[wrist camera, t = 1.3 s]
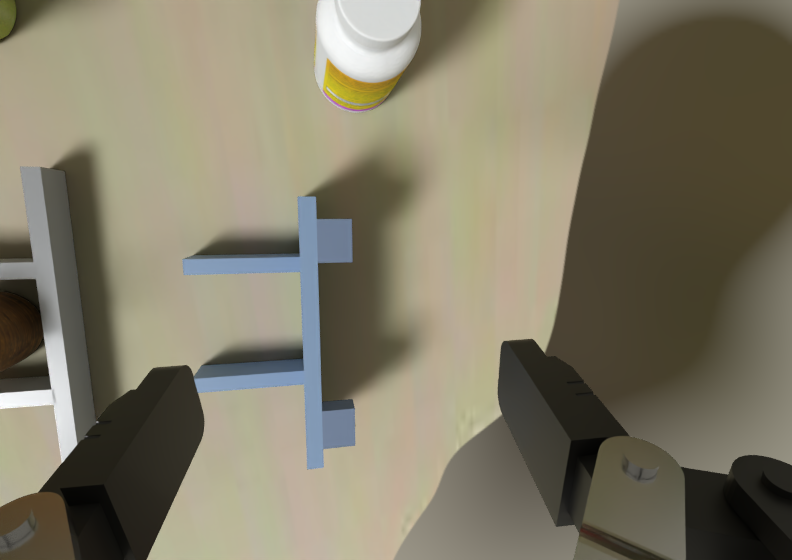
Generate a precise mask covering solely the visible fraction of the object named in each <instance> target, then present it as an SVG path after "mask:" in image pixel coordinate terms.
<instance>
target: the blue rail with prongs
mask: <svg viewBox="0 0 792 560" xmlns="http://www.w3.org/2000/svg"><path fill="white" fill-rule="evenodd" d="M298 220H299V248H300V253H296V254H239V255H193V256H190V257H187V258H185V259H182V260H183V272H184V275H201V274H239V273H277V272H300V277H301V305H302V333H303V359H290V360H275V361H260V362H246V363H231V364H216V365H202V366H201V367H200V369H199V370H198V372H197V373H196V374H195V376H194V381H195V384H196V388H197V392H198V393H202V392H215V391H227V390H240V389H252V388H264V387H277V386H289V385H302V384H304V389H305V417H306V445H307V469H314V468H323V467H324V463H323V449H328V448H337V447H346V446H355V408H354V404H353V399H348V400H337V401H326V402H322V392H321V357H320V322H319V287H318V263H340V262H352V219H317V217H316V197H298Z"/></svg>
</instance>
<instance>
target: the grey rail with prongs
mask: <svg viewBox="0 0 792 560" xmlns="http://www.w3.org/2000/svg"><path fill="white" fill-rule="evenodd" d="M20 170H21V177H22V185H23V192H24V199H25V206H26V213H27V220H28V227H29V234H30V241H31V248H32V255H33V258H11V259H0V280H12V279H36V283H37V291H38V298H39V305H40V312H41V319H42V326H43V333H44V340H45V347H46V354H47V361H48V368H49V375H50V376H40V377H26V378H11V379H0V409H4V408H16V407H28V406H41V405H53V404H54V411H55V418H56V425H57V432H58V439H59V446H60V453H61V460H62V463H63V461H64V460H65V459H66V458H67V457H68V455H69V454H70V453H71V452H72V450H73V449H74V448H75V447H76V446H77V444H78V443H79V442H80V441H81V440H84V436H85V435H86V433H87V432H88V431H89V430H90V428H91V427H92V426H93V425H96V418H95V410H94V402H93V394H92V386H91V378H90V370H89V362H88V354H87V346H86V338H85V329H84V321H83V313H82V305H81V297H80V289H79V281H78V273H77V265H76V257H75V249H74V241H73V233H72V225H71V217H70V209H69V201H68V193H67V185H66V177H65V171H61V170H55V169H49V168H43V167H20Z"/></svg>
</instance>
